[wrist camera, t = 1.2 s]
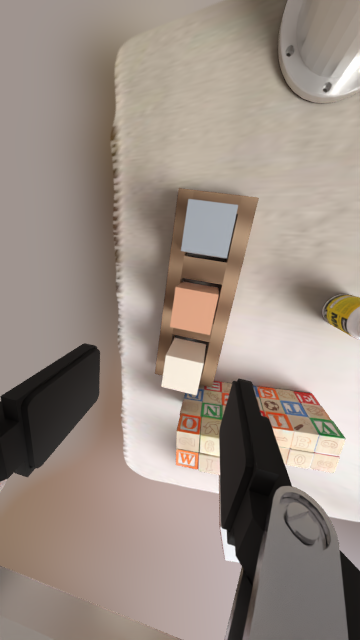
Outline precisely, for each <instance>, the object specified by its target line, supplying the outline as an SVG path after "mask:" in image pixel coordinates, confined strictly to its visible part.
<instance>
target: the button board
mask: <svg viewBox="0 0 360 640" xmlns="http://www.w3.org/2000/svg"><path fill="white" fill-rule="evenodd" d="M188 199H194V200H202V201H210V202H218V203H226V204H234V205H238V209H237V214H236V218H235V219H236V220H235V224H234V229H233V233H232V238H231V243H230V247H229V252H228V256H227V261H226V262H219V261H213V260H207V259H201V258H195V257H188V256H187V254H188V253H187V252H184V251H181V247H182V240H183V233H184V226H185V219H186V212H187V206H188ZM258 199H259V198H257V197H248V196H240V195H231V194H223V193H215V192H206V191H198V190H189V189H181V188H179V190H178V198H177V206H176V214H175V221H174V229H173V237H172V245H171V252H170V260H169V268H168V276H167V284H166V291H165V299H164V307H163V315H162V323H161V330H160V338H159V346H158V354H157V361H156V369H155V374H158V375H162V376H163V372H164V365H165V358H166V354H167V352H168V350H169V348H170V346H171V344H172V342H173V341H174V338H175V335H178V336H183V337H188V338H192V339H197V340H202V341H206V342H209V343H208V347H207V352H206V356H205V361H204V365H203V369H202V373H201V378H200V383H199V385H204V386H208V387H212V385H213V381H214V377H215V373H216V369H217V365H218V361H219V357H220V353H221V349H222V345H223V341H224V337H225V333H226V329H227V324H228V320H229V316H230V312H231V308H232V304H233V300H234V296H235V292H236V288H237V284H238V280H239V276H240V272H241V268H242V264H243V260H244V255H245V251H246V247H247V243H248V239H249V235H250V231H251V227H252V223H253V219H254V215H255V211H256V207H257V203H258ZM184 278H186V279H192V280H198V281H204V282H209V283H215V284H221V288H220V293H219V297H218V302H217V306H216V311H215V315H214V319H213V323H212V328H211V332H210V335H207V334H202V333H197V332H192V331H187V330H183V329H178V328H173V327H170V323H171V316H172V309H173V302H174V296H175V289H176V286H178V285H179V284H181V283H182V282H183V280H184Z"/></svg>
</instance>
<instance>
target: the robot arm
mask: <svg viewBox="0 0 360 640" xmlns="http://www.w3.org/2000/svg"><path fill="white" fill-rule="evenodd" d="M278 55H279V63H280V67H281V71H282V74H283V76H284V78H285V80H286V82H287V84H288V85H289V86H290V88H291V89H292V90H293V91H294V92H295V93H296V94H297V95H299V96H300V97H301V98H303V99H306V100H308V101H311V102H316V103H330V102H336V101H339V100H343V99H346V98H348V97H350V96H352V95H354V94H356V93H358V92H359V91H360V0H287V3H286V6H285V10H284V13H283V16H282V21H281V25H280V30H279V39H278ZM99 372H100V351H99V350H98V349H97V347H96V346H94V345H89V344H82V345H81V346H79V347H77V348H76V349H74V350H73V351H71V352H70V353H68V354H66V355H65V356H63V357H62V358H60V359H58V360H57V361H55V362H54V363H52V364H51V365H49V366H47V367H46V368H44V369H43V370H41V371H40V372H38V373H36V374H35V375H33V376H32V377H30V378H29V379H27V380H26V381H24V382H23V383H21V384H19V385H18V386H16V387H14V388H13V389H12V390H10V391H8V392H6V393H5V394H3V395H2V396H1V402H0V492H1V490H2V488H3V486H4V485H5V483H6V481H7V479H8V478H9V477H10V476H11V475H12V474H13V472H15V473H17V474H19V475H22V476H25V477H28V476H29V475H30V474H31V473H32V471H33V470H34V469H35V468H39V467H40V466H42V465H43V464H44V462H45V461H46V460H47V459H48V458H49V456H50V455H51V454H52V453H53V452H54V451H55V449H56V448H57V447H58V445H60V443H61V442H62V441H63V440H64V439H65V437H66V436H67V435H68V434H69V433H70V431H71V430H72V429H73V428H74V427H75V426H76V424H77V423H78V422H79V421H80V420H81V419H82V417H83V416H84V415H85V414H86V413H87V411H88V410H89V409H90V408H91V407H92V406H93V404H94V403H95V402H96V401H97V399H98V396H99ZM219 448H220V497H221V527H222V529H225V530H227V544H229V545H232V546H235V554H236V557H237V559H238V561H239V562H240V564H241V565H242V568H241V572H240V576H239V581H238V585H237V589H236V593H235V597H234V601H233V606H232V610H231V614H230V618H229V622H228V626H227V631H226V635H225V639H224V640H360V571H359V570H358V569H357V568H356V567H355V566H354V564H353V563H352V562H351V561H350V560H349V559H348V558H347V557H346V556H345V555H344V554H343V553H342V552H341V551H340V550H339V542H338V538H337V534H336V531H335V528H334V526H333V524H332V522H331V520H330V519H329V517H328V516H327V514H326V513H325V511H324V510H323V509H322V507H321V506H320V505H319V504H318V503H317V502H316V501H315V500H314V499H313V498H311V497H310V496H309V495H308V494H306V493H305V492H303V491H301V490H299V489H298V488H295V487H292V485H291V482H290V479H289V476H288V473H287V470H286V467H285V464H284V461H283V458H282V455H281V452H280V449H279V446H278V443H277V440H276V437H275V435H274V432H273V429H272V426H271V423H270V420H269V418H268V417H265V416H262V415H261V412H260V408H259V405H258V402H257V398H256V395H255V391H254V388H253V385H252V382H251V381H246V380H242V379H238V380H237V382H236V381H233V383H232V386H231V390H230V393H229V397H228V400H227V404H226V407H225V411H224V414H223V418H222V421H221V425H220V430H219ZM0 640H181V639H179V638H177V637H174V636H172V635H169V634H167V633H164V632H162V631H160V630H157V629H155V628H152V627H150V626H147V625H145V624H142V623H140V622H138V621H135V620H132V619H130V618H128V617H126V616H123V615H121V614H118V613H116V612H113V611H111V610H109V609H106V608H104V607H101V606H98V605H96V604H94V603H91V602H89V601H86V600H84V599H82V598H79V597H77V596H74V595H72V594H69V593H67V592H64V591H62V590H59V589H57V588H54V587H52V586H49V585H47V584H44V583H42V582H40V581H37V580H35V579H32V578H29V577H27V576H24V575H22V574H20V573H17V572H15V571H12V570H10V569H7V568H5V567H2V566H0Z"/></svg>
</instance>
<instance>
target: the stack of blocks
mask: <svg viewBox="0 0 360 640" xmlns="http://www.w3.org/2000/svg"><path fill="white" fill-rule="evenodd" d="M231 386H232V383H224V382H219V381H213V385H212V387H208V386H204V385H199V387H198V392H197V395H193V394H189V393H185V396H184V400H183V403H182V407H181V411H180V419H179V423H178V427H177V435H176V448H177V449H176V465H178V466H183V467H188V468H193V469H198V470H199V471H201V472H206V473H211V474H216V475H220V448H219V430H220V425H221V421H222V418H223V414H224V411H225V407H226V404H227V400H228V397H229V393H230V390H231ZM253 388H254V391H255V395H256V398H257V402H258V405H259V408H260V412H261V415H262V416H265V417H268V418H269V420H270V423H271V426H272V429H273V432H274V435H275V437H276V440H277V443H278V446H279V449H280V452H281V455H282V458H283V461H284V464H286V465H289V466H294V467H300V468H305V469H313V470H318V471H323V472H329V473H334V472H335V469H336V467H337V464H338V461H339V459H340V457H339V456H340V454H341V451H342V448H343V445H344V443H345V440H346V439H345V437H344V436H343V434H342V433H341V432H340V430H339V429H338V427H337V426H336V425H335V423H334V422H333V421H332V420H331V419H330V418H329V416H328V415H327V413H326V412H325V410H324V409H323V407H322V406H320V404H319V402H318V401H317V400H316V398H315V397H314V395H313V394H312V393H303V392H295V391H294V392H293V391H291V390H283V389H274V388H267V387H259V386H257V387H256V386H253Z"/></svg>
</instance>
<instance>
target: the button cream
mask: <svg viewBox="0 0 360 640" xmlns="http://www.w3.org/2000/svg"><path fill="white" fill-rule="evenodd" d="M205 347H206V344H202V343H197V342H192V341H188V340H183V339H178V338H175V339H174V341H173V342H172V344H171V346H170V348H169V350H168V352H167V354H166V358H165V365H164V372H163V379H162V385H161V387H165V388H169V389H173V390H177V391H181V392H185V393H189V394H193V395H197V392H198V387H199V383H200V378H201V373H202V369H203V364H204V356H205Z"/></svg>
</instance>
